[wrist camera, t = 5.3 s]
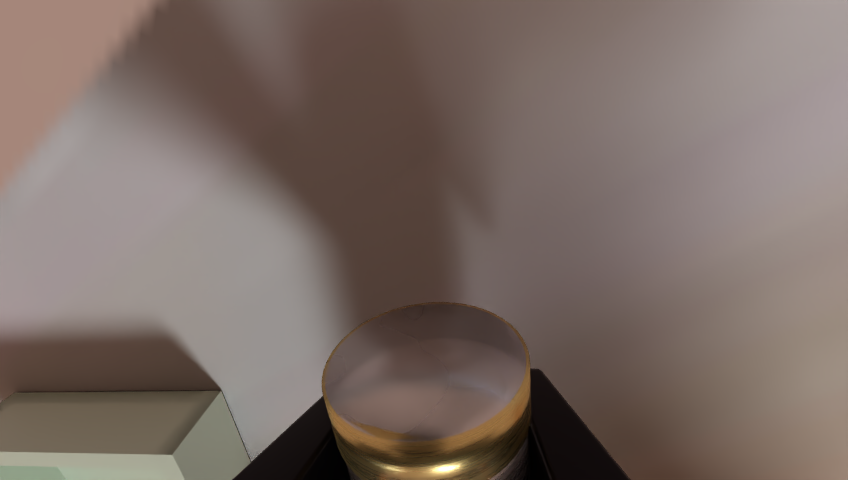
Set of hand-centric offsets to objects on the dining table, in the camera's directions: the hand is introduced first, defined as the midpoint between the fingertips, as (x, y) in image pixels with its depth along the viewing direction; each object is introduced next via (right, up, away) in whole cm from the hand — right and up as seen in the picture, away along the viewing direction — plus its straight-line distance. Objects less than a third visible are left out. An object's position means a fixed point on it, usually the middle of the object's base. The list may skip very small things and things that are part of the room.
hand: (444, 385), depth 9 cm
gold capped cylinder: (0, -4, 0) cm, 4 cm away
